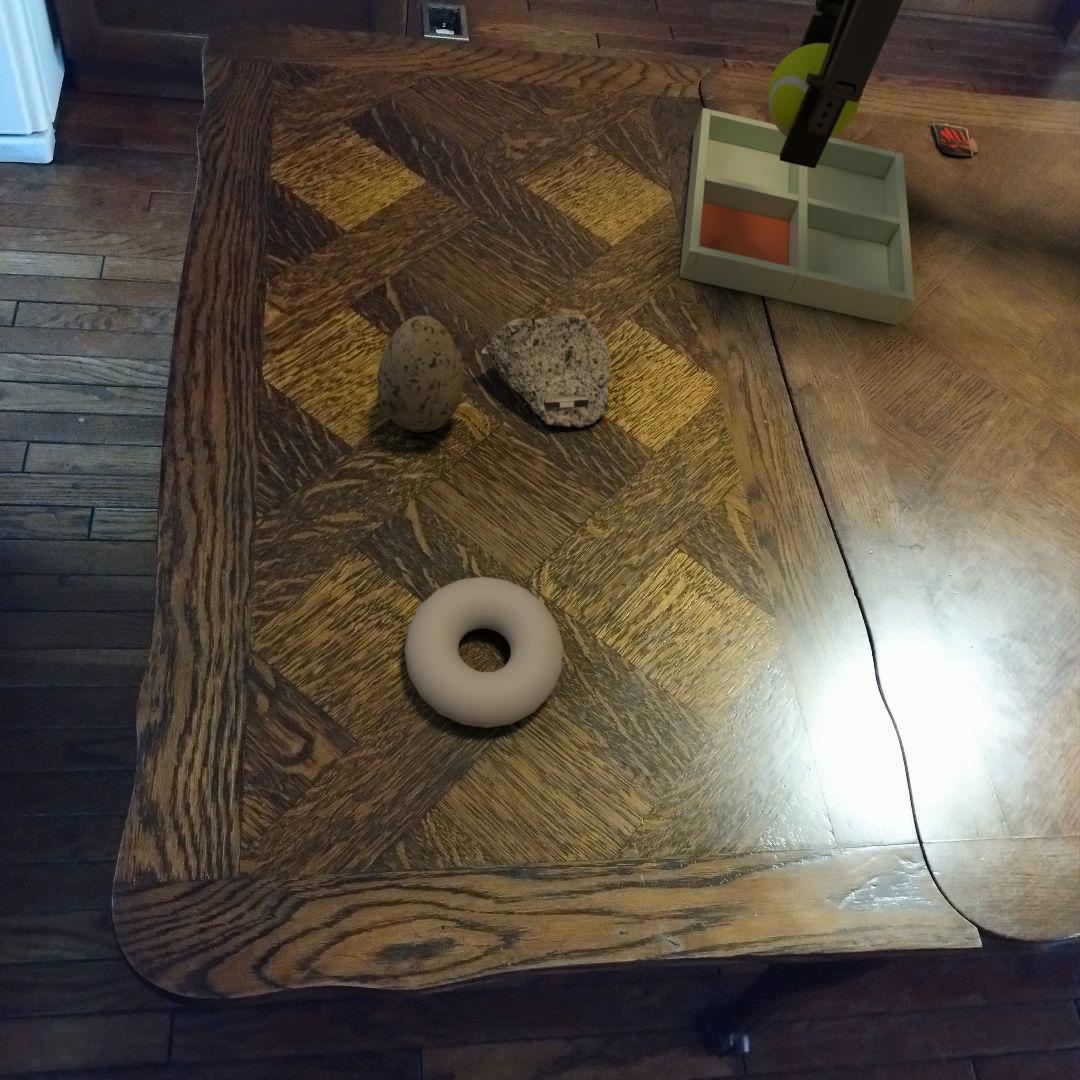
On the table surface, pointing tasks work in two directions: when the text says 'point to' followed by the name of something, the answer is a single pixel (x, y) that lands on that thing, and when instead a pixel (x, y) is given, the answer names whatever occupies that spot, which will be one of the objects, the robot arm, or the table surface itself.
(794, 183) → the grid
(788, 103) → the tennis ball
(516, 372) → the rock sample
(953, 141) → the matchbox
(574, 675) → the table surface
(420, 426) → the decorative egg
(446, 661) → the donut
